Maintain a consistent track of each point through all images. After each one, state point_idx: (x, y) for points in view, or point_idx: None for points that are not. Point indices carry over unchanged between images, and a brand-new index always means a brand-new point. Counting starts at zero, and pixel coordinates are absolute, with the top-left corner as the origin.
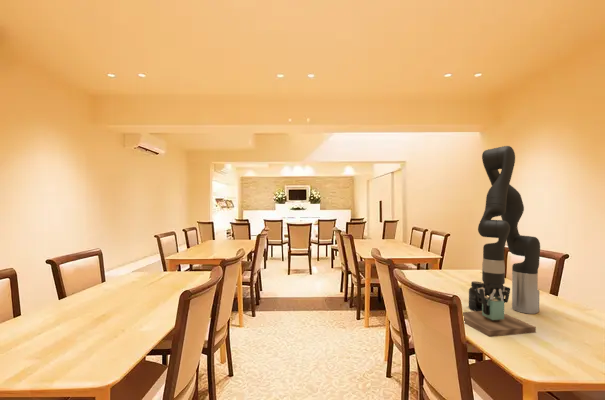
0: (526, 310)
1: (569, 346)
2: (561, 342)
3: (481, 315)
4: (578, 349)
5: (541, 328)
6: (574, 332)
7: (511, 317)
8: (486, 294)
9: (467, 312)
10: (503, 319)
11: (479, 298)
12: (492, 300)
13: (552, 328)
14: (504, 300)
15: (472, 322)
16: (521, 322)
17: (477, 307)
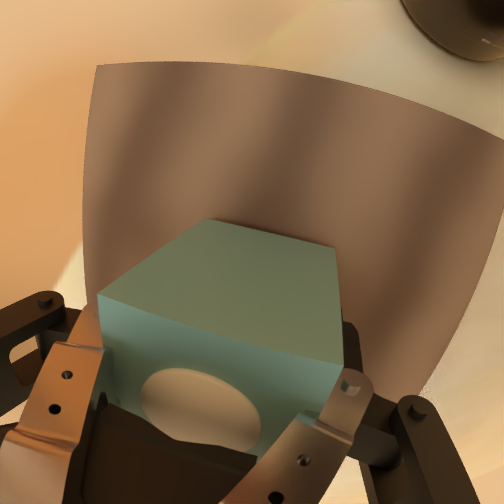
0: None
1: (336, 487)
2: (352, 474)
3: (251, 175)
4: (335, 496)
5: (465, 398)
6: (500, 441)
7: (448, 315)
8: (81, 401)
9: (193, 74)
10: (346, 317)
11: (16, 326)
12: (157, 419)
13: (497, 407)
14: (366, 456)
15: (84, 247)
16: (398, 389)
17: (426, 16)
